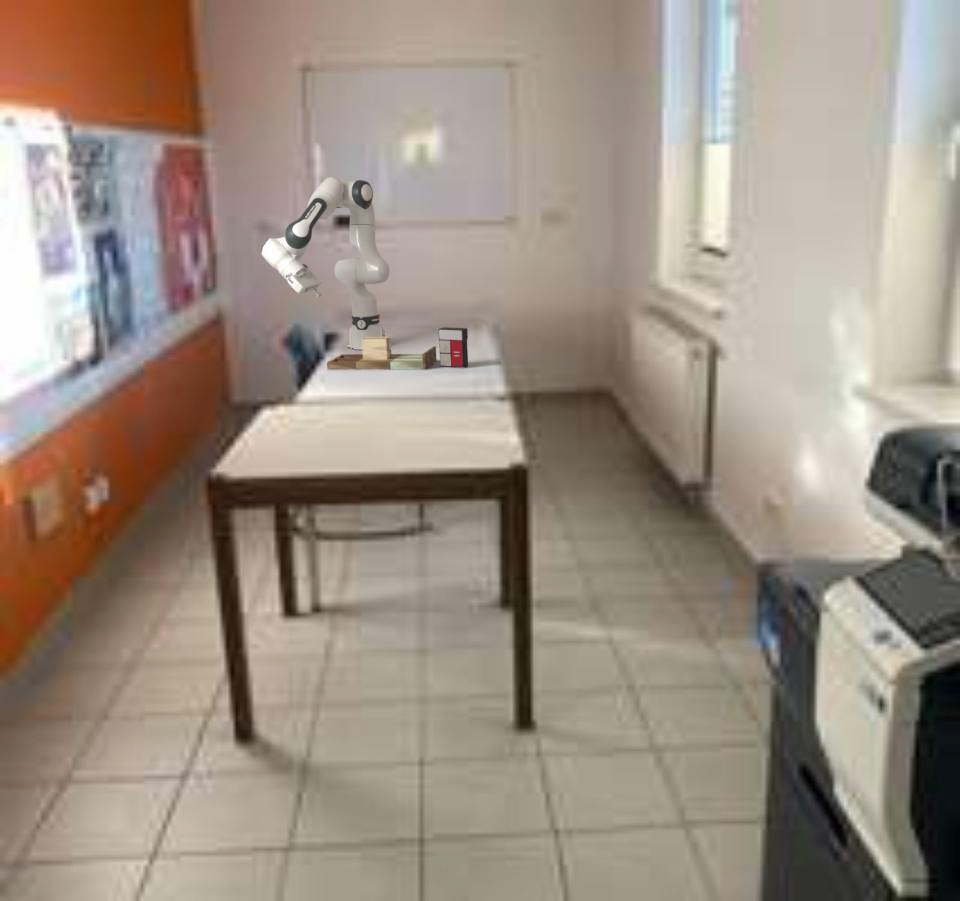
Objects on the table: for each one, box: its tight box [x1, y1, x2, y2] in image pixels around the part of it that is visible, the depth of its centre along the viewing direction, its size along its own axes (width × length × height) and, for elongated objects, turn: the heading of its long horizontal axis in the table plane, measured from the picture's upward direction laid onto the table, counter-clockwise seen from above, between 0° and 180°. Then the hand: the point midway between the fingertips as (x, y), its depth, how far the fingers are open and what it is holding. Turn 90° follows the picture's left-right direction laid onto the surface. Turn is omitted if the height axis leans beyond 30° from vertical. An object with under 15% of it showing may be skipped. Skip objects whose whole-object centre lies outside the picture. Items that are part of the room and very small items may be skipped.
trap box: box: [326, 346, 438, 370], centre depth 395 cm, size 18×40×6 cm, turn 79°
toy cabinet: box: [438, 326, 469, 368], centre depth 385 cm, size 11×4×15 cm, turn 62°
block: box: [361, 336, 392, 359], centre depth 394 cm, size 6×10×8 cm, turn 79°
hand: (319, 296), depth 396 cm, fingers closed
